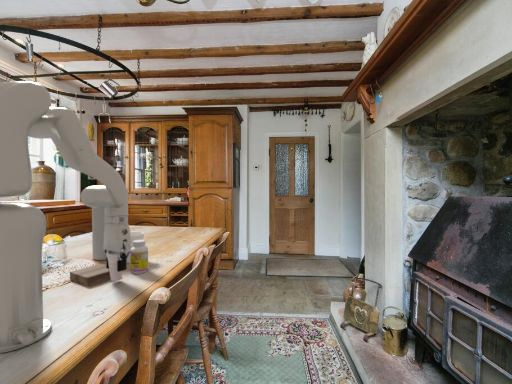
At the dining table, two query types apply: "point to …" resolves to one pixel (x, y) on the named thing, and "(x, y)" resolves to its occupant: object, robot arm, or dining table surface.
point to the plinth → (90, 275)
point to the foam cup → (134, 237)
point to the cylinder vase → (98, 233)
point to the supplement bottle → (139, 257)
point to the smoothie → (114, 266)
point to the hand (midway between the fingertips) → (116, 268)
